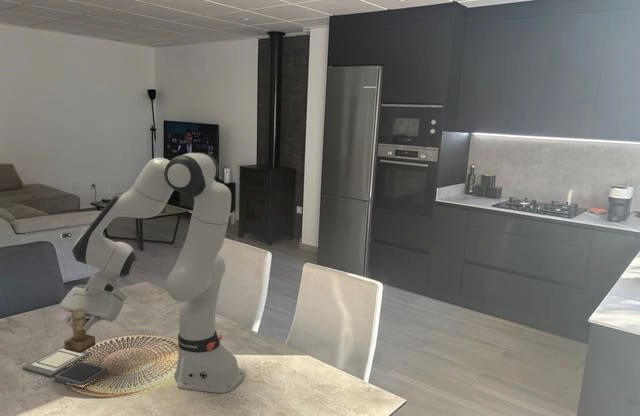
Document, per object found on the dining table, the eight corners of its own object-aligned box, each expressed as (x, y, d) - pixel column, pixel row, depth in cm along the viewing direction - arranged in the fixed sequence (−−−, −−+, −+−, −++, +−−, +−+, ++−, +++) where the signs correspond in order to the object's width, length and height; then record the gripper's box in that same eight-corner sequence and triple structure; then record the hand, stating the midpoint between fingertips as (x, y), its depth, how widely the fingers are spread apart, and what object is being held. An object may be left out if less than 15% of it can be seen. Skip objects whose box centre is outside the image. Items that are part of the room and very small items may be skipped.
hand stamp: (95, 344, 148) (93, 307, 145) (80, 353, 142) (78, 314, 140) (80, 341, 150) (78, 304, 147) (64, 349, 144) (62, 310, 142)
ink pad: (107, 372, 150) (106, 367, 150) (82, 388, 141) (81, 382, 141) (80, 365, 154) (80, 360, 153) (54, 380, 144) (54, 375, 144)
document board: (91, 354, 161) (91, 352, 161) (51, 377, 146) (50, 374, 146) (64, 347, 165) (64, 345, 165) (22, 369, 150) (22, 366, 150)
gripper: (70, 279, 152) (45, 318, 145) (120, 289, 146) (97, 330, 138) (81, 288, 157) (58, 326, 150) (131, 297, 151) (109, 338, 143)
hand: (77, 328), depth 144 cm, fingers closed on hand stamp, 4 cm apart
